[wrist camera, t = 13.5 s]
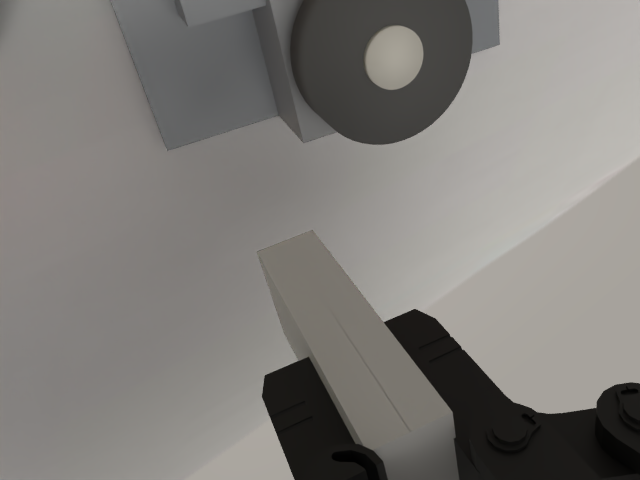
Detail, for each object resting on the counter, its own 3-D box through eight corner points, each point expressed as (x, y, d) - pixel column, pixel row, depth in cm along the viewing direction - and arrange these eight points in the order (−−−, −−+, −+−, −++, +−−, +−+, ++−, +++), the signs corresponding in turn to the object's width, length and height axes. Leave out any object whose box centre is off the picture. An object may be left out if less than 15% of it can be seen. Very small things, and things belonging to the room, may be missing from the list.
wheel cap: (282, 119, 25) (327, 170, 20) (244, -31, 21) (287, -15, 17) (409, 78, 26) (481, 117, 21) (391, -71, 22) (472, -67, 18)
